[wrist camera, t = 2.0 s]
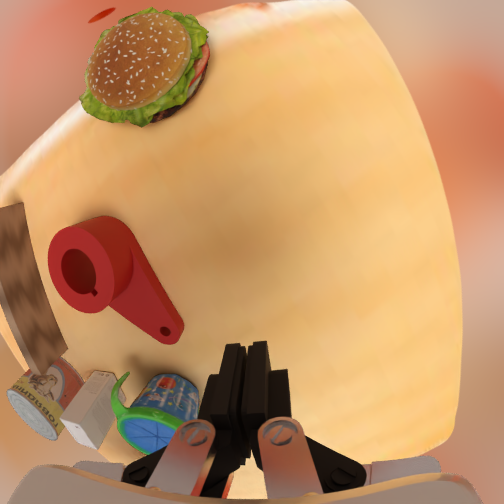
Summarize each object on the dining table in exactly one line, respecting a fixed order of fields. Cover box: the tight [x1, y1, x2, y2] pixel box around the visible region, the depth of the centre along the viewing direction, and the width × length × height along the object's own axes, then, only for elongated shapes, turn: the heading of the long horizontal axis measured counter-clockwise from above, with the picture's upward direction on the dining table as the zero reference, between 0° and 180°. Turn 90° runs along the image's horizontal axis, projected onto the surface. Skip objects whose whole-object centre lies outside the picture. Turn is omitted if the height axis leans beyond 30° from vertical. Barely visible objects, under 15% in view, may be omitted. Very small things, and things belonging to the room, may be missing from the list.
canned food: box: [7, 357, 85, 440], centre depth 32 cm, size 11×11×12 cm
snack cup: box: [111, 372, 199, 455], centre depth 30 cm, size 16×10×10 cm
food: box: [79, 7, 210, 127], centre depth 20 cm, size 14×14×8 cm
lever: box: [48, 216, 184, 345], centre depth 28 cm, size 18×9×7 cm, turn 41°
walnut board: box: [0, 203, 68, 376], centre depth 28 cm, size 24×2×8 cm, turn 8°
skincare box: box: [60, 371, 126, 450], centre depth 31 cm, size 6×4×12 cm
